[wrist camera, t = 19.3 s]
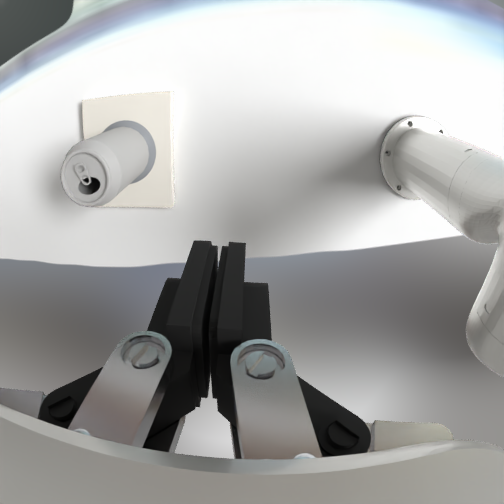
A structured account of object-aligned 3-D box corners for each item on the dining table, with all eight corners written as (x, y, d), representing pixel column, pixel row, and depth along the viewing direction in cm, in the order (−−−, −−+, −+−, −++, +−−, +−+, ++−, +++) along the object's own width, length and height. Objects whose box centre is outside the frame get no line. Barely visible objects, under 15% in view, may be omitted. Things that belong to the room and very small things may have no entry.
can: (110, 184, 40) (69, 220, 29) (95, 135, 36) (46, 157, 26) (157, 171, 39) (125, 203, 28) (142, 118, 35) (102, 132, 25)
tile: (173, 91, 35) (170, 91, 34) (174, 204, 43) (172, 208, 42) (87, 99, 35) (81, 100, 33) (95, 203, 43) (90, 207, 41)
